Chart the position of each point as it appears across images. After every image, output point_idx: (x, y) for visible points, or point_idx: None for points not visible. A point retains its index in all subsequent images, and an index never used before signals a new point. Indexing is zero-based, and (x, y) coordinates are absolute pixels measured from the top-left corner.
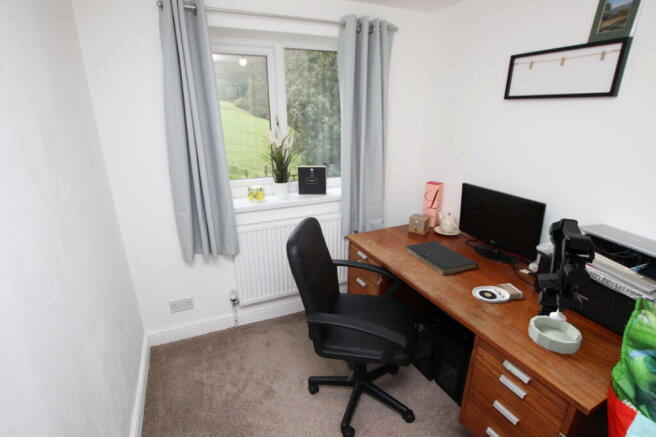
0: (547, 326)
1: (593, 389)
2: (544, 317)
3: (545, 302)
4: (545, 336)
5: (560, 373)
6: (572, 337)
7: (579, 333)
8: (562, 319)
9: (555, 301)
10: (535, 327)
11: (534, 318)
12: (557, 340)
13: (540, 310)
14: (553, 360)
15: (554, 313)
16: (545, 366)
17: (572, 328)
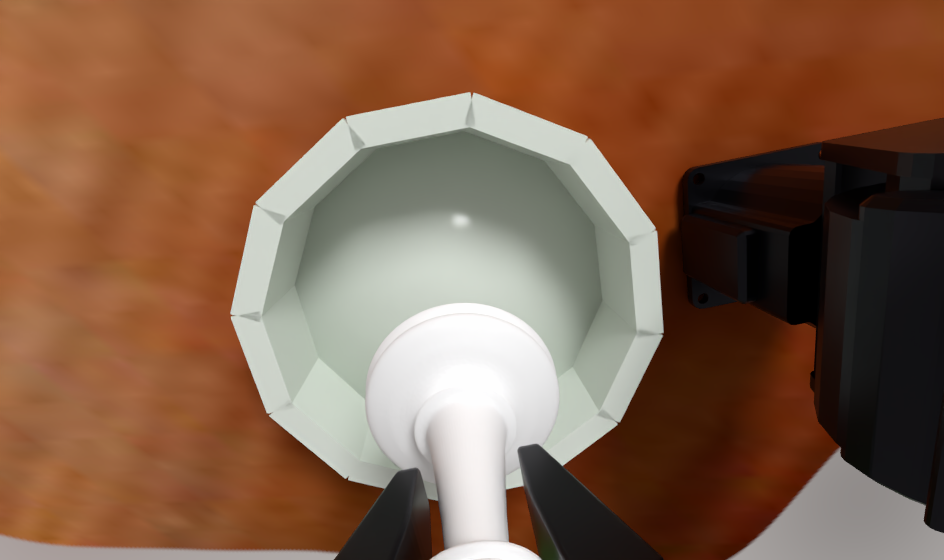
0: (587, 243)
1: (74, 513)
2: (613, 220)
3: (825, 215)
4: (242, 264)
5: (58, 365)
6: None
7: (506, 483)
8: (397, 457)
9: (854, 352)
10: (337, 160)
11: (526, 129)
12: (254, 359)
13: (795, 166)
14: (171, 317)
15: (476, 369)
16: (46, 279)
17: (562, 435)
